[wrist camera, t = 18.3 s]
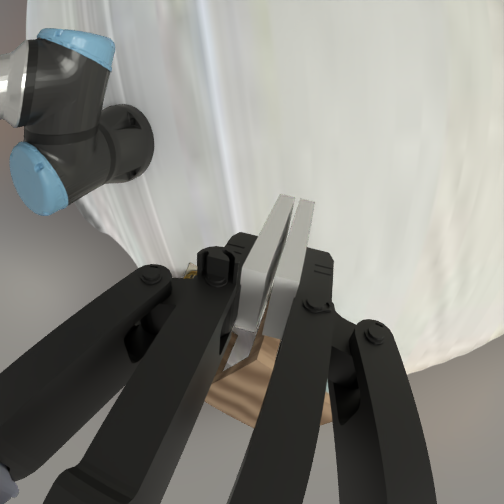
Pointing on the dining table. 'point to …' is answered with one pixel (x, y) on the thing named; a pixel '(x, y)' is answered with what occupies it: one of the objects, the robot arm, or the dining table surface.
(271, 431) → the robot arm
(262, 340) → the step stool
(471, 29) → the dining table surface
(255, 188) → the dining table surface
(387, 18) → the dining table surface
